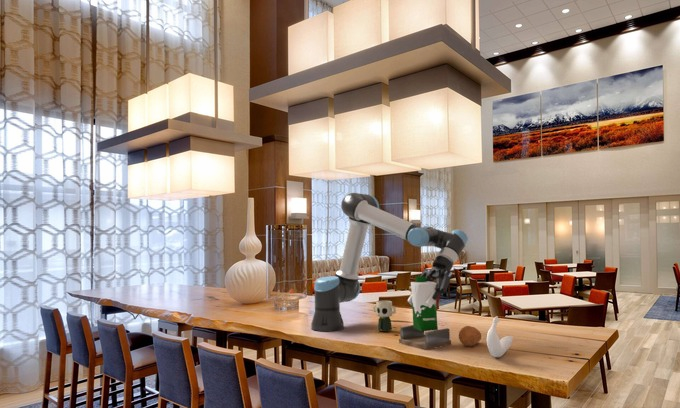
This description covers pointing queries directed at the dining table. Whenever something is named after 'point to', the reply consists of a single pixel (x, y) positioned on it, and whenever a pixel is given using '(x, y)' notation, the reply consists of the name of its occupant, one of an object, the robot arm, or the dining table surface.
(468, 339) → the potato
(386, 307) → the white and green figurine
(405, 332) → the grey square holder
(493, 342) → the white bird figurine
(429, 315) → the soya milk
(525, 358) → the dining table surface
